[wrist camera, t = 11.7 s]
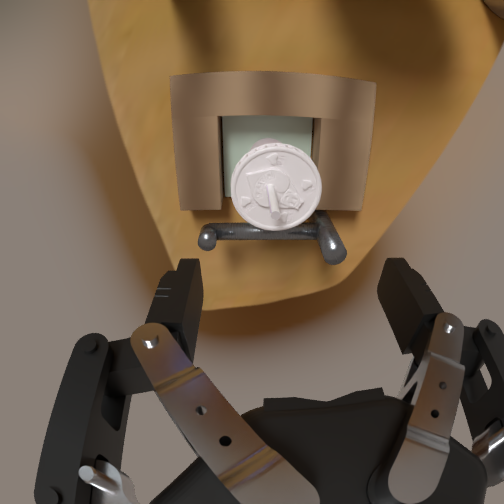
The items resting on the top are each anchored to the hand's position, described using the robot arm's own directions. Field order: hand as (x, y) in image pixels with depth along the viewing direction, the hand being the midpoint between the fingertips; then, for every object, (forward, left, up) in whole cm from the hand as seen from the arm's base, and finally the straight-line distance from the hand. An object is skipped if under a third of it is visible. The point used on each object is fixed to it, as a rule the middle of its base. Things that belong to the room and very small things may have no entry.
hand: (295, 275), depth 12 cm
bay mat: (0, 0, -19) cm, 19 cm away
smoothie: (0, 0, -19) cm, 19 cm away
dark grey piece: (0, +6, -19) cm, 20 cm away
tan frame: (0, -2, -19) cm, 19 cm away
